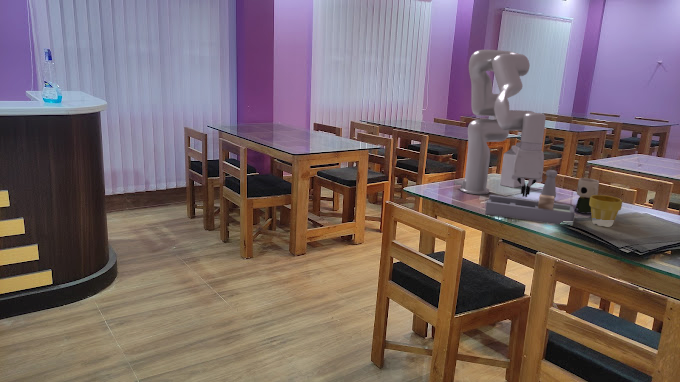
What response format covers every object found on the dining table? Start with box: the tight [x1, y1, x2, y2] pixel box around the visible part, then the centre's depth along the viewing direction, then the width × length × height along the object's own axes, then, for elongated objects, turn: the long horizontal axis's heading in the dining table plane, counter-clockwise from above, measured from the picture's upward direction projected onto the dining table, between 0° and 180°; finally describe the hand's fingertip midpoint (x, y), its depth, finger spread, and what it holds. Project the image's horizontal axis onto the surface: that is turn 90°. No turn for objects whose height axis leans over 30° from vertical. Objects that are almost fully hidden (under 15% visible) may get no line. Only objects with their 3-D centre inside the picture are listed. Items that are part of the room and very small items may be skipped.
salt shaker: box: [540, 169, 558, 199], centre depth 210 cm, size 6×6×13 cm
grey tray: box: [484, 194, 575, 225], centre depth 188 cm, size 30×13×4 cm, turn 69°
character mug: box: [574, 177, 600, 214], centre depth 194 cm, size 11×7×13 cm, turn 12°
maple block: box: [538, 193, 556, 210], centre depth 185 cm, size 5×5×5 cm
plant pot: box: [589, 194, 623, 220], centre depth 180 cm, size 10×10×10 cm
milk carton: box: [499, 145, 522, 189], centre depth 234 cm, size 7×7×19 cm
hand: (524, 196), depth 187 cm, fingers closed
